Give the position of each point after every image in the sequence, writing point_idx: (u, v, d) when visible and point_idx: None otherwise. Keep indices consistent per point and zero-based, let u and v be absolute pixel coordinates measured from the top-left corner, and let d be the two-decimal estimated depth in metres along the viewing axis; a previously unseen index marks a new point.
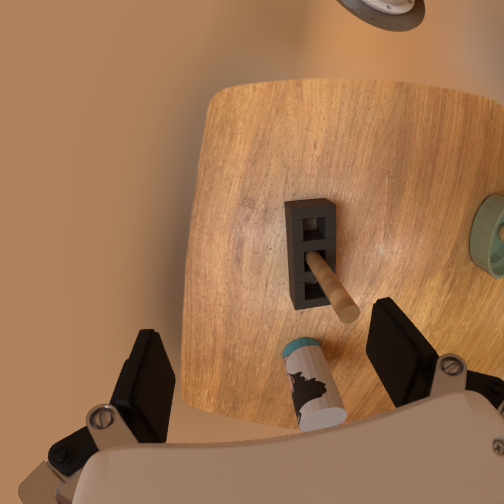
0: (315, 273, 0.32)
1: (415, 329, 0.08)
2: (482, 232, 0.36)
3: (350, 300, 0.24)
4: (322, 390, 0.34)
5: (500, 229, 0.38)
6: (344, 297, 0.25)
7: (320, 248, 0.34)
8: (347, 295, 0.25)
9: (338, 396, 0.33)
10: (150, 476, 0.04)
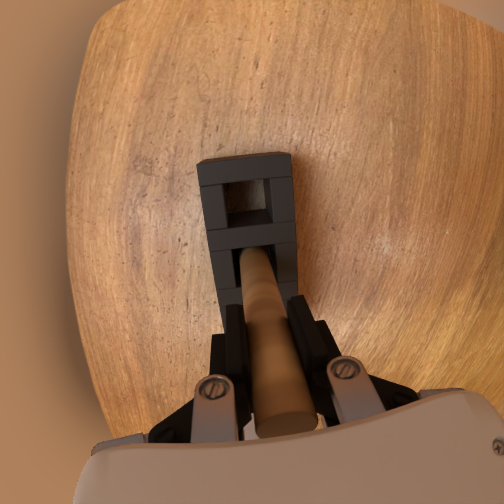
0: (242, 294, 0.15)
1: (315, 327, 0.10)
2: None
3: (292, 389, 0.08)
4: None
5: None
6: (276, 378, 0.08)
7: (264, 242, 0.18)
8: (289, 369, 0.09)
9: None
10: (150, 476, 0.04)
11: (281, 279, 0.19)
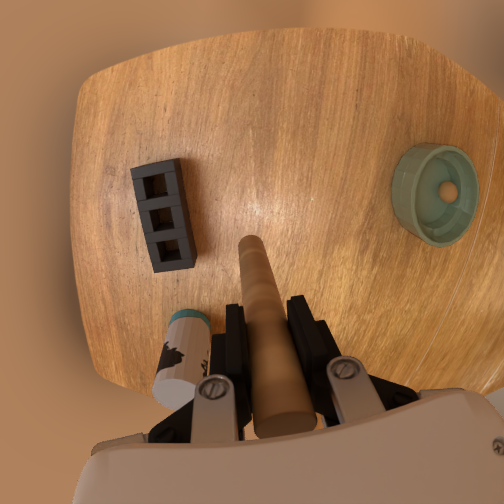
0: (242, 295, 0.15)
1: (315, 328, 0.10)
2: (402, 186, 0.34)
3: (292, 389, 0.08)
4: (177, 360, 0.32)
5: (439, 186, 0.36)
6: (275, 378, 0.08)
7: (164, 206, 0.33)
8: (288, 369, 0.09)
9: (195, 370, 0.32)
10: (150, 476, 0.04)
11: (176, 226, 0.34)
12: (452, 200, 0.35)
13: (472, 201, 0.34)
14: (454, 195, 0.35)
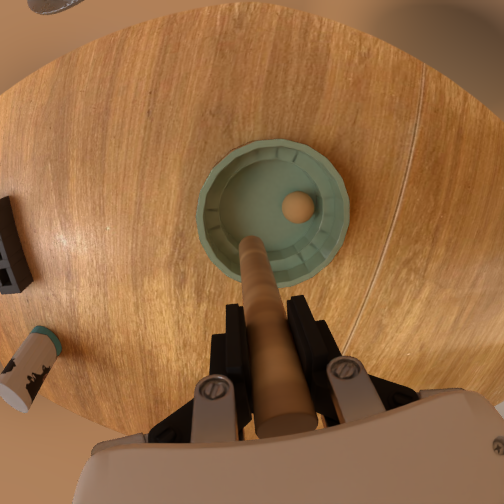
0: (243, 296, 0.15)
1: (315, 327, 0.10)
2: None
3: (293, 390, 0.08)
4: (9, 369, 0.26)
5: (283, 200, 0.31)
6: (276, 380, 0.08)
7: None
8: (289, 370, 0.09)
9: (19, 380, 0.26)
10: (150, 476, 0.04)
11: (3, 258, 0.28)
12: (300, 220, 0.30)
13: (340, 220, 0.29)
14: (302, 213, 0.29)
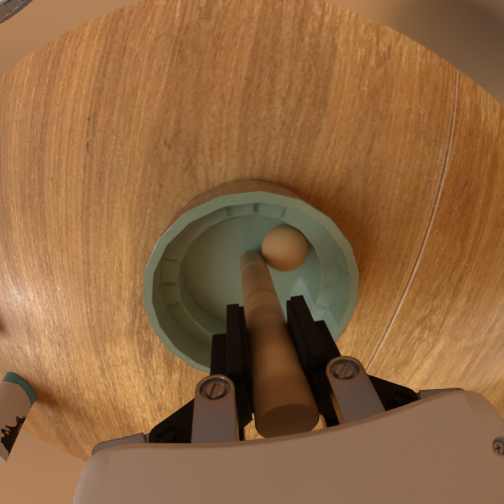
0: (244, 300, 0.15)
1: (314, 328, 0.10)
2: None
3: (299, 384, 0.08)
4: None
5: None
6: (283, 372, 0.08)
7: None
8: (295, 367, 0.09)
9: None
10: (150, 476, 0.04)
11: None
12: (290, 262, 0.20)
13: (344, 297, 0.21)
14: (301, 255, 0.20)
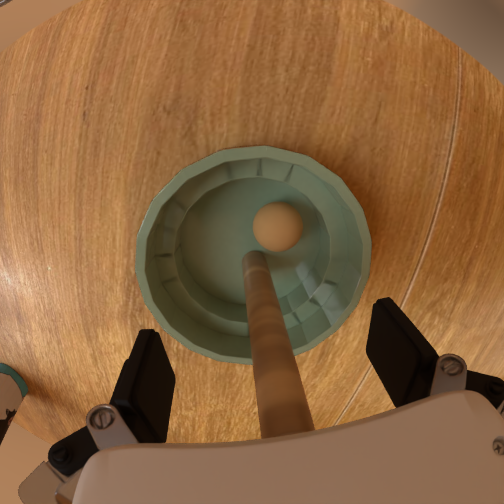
0: (248, 312, 0.16)
1: (415, 329, 0.08)
2: None
3: (301, 411, 0.09)
4: None
5: (269, 203, 0.19)
6: (287, 400, 0.09)
7: None
8: (297, 394, 0.10)
9: None
10: (150, 476, 0.04)
11: None
12: (271, 247, 0.19)
13: (355, 269, 0.19)
14: (283, 243, 0.19)
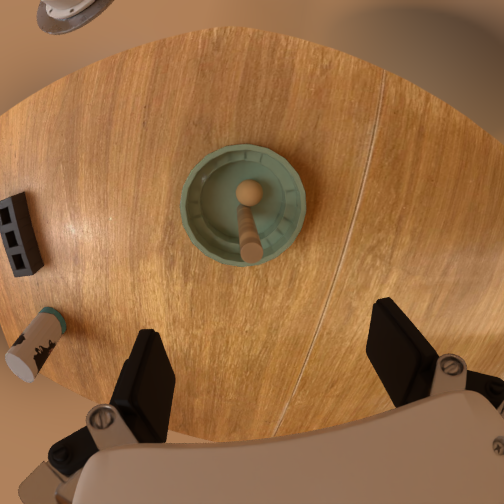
0: (238, 222, 0.32)
1: (415, 329, 0.08)
2: None
3: (256, 240, 0.25)
4: (19, 342, 0.33)
5: (243, 181, 0.36)
6: (251, 236, 0.26)
7: (11, 229, 0.34)
8: (256, 236, 0.26)
9: (27, 351, 0.33)
10: (150, 476, 0.04)
11: (18, 244, 0.35)
12: (242, 203, 0.37)
13: (299, 208, 0.35)
14: (245, 204, 0.36)
